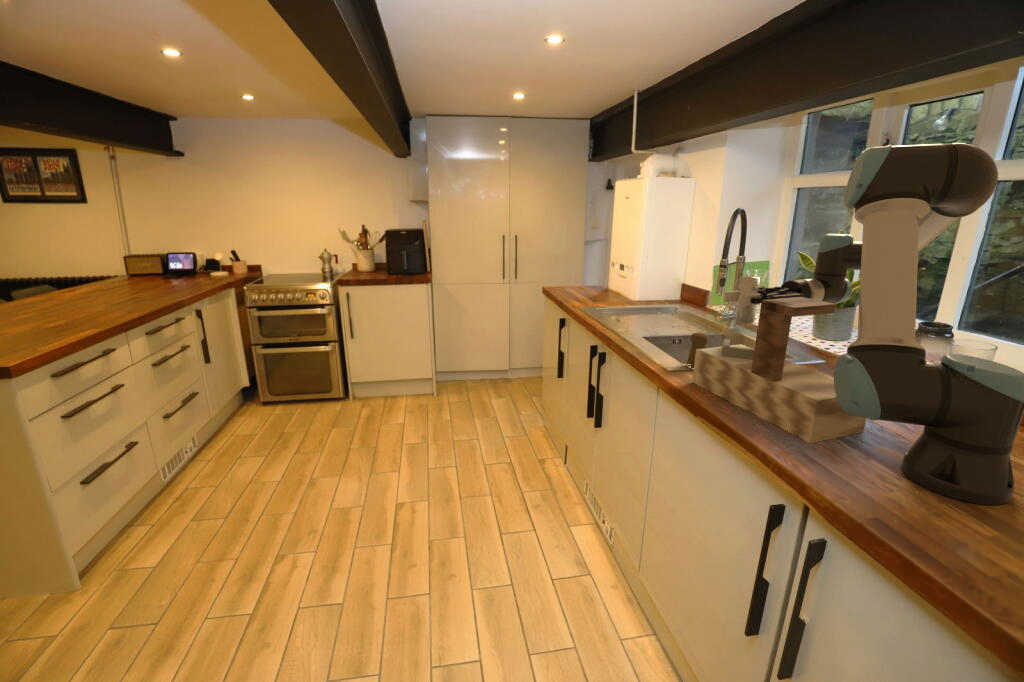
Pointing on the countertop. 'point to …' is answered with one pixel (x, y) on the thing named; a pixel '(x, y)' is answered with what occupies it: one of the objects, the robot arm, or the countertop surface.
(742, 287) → the axle
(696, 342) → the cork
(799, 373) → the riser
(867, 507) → the countertop surface
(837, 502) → the countertop surface
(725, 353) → the v cradle
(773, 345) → the brown wooden l bracket
